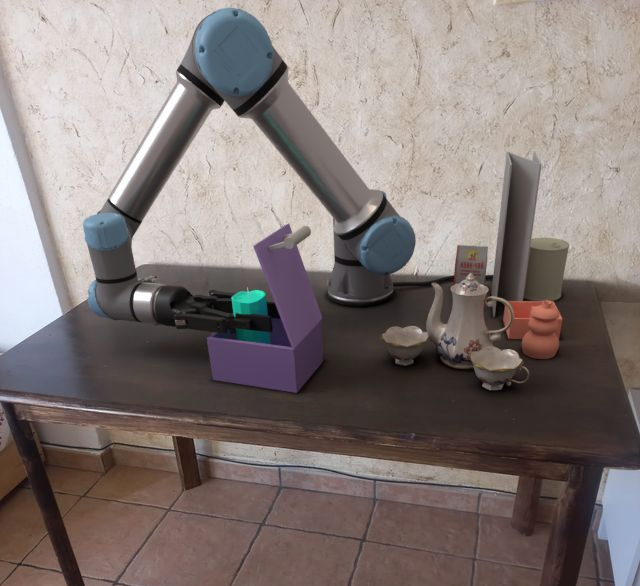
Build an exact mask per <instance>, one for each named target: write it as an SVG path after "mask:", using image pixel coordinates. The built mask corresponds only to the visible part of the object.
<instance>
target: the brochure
mask: <svg viewBox="0 0 640 586" xmlns="http://www.w3.org/2000/svg"><path fill="white" fill-rule="evenodd" d="M542 165H543V164H542V163H541V160H540V158H539V156H538V154H537V152H536V151H535V150H533V152H532V159H529V158H526V157H523V156H521V155H518V154H516V153H513V152H510V151H506V154H505V165H504V171H503V183H502V191H501V200H500V208H499V209H500V210H499V220H498V227H497V228H498V229H497V238H496V248H495V254H494V256H495V257H494V265H493V274H492V275H493V279H492V282H491V283H492V284H491V291H490V293H491V296H494V297H499V298H503V299H505V300H506V301H524V298H523V296H524V289H525V282H526V274H527V267H528V260H529V253H530V245H531V239H533V238H532V237H533V232H534V231H533V230H534V224H535V223H534V222H535V215H536V208H537V201H538V194H539V186H540V180H541V173H542V167H543V166H542ZM491 300H492V301H493V306H492V317H493V318H496V308H497V301H496V300H493V299H491ZM503 305H504V306H505V304H503Z"/></svg>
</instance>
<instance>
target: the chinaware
mask: <svg viewBox="0 0 640 586" xmlns="http://www.w3.org/2000/svg"><path fill="white" fill-rule="evenodd" d="M474 279H475V277H474V276H473V274H472V273H470V274H469V275H468V276H467V277H466V280H463V281H462V282H461V283H460V284H455V285H454V284H453V285H454V286H453V285H451V286H450V291H451V296H452V305H451V311H450V315H449V318H448V320H447V323H443V322H442V320H441V314H442V308H443V304H444V291H443V288H442V286H440V284H439V283H432V285H431V286H432V287H433V289H434V299H433V302H432V303H431V304H432V305H431V307H430V310H429V312H428V314H427V318H426V325H425V327H426V329H425V330H426V331H423V330H422V329H421V328H420V327H419V326H417V325H408V326H405V327H400V326H398V325H397V326H396V325H394V326H389V327H388V328H387V329H386V330H385V332H384V333H381V335H379V336H380V339H381V340H382V341H383V342H384V344H385V347H386V350H387V352H388V354H389V355H390V356H391V357H392V358H394V360H395V361H394V362H395V364H397V365H400V366H405V367H406V366H409V365H412V364H414V359H416V358H417V357H418V356H419V355H421V353H422V351H423V350H424V346H425V344H426V342H427V341H428V340H430V341H431V342H432V343H433V344H434V345H435V351H436V353H437V354H438V355H439V359H440V362H441V363H442V364H444V365H445V366H448V367H449V368H453V369H459V370H472V369H473V371H474V373H475V376H476V378H478V380H479V381H481V382H482V385H481V387H483V388H485V389H486V390H489V391H499V390H502V389H503V387H504V385H505V384H506V385H507V387H510V386H511V385H512V382H514V383H516V384H525V383H526V382H527V381H528V380H529V379H530V371H529V369H528V368H527V367H526V366H523V364H524V359H523V358H521V357H520V354H519V352H517V351H516V350H515V349H511V348H507V349H506V348H505V349H501V348H499V347H497V346H495V345H494V343H498V342H500V341H501V339H502V334H501V333H505V332H506V330H507V329H509V328H510V326H511V325H512V323H513V321H514V311H513V308H512V306H511V305H510V303H509V302H507V301H506V300H505V299H503V298H499V297H494V296H492V295H491V296H487V294H488V292H489V288H488V286H486V285H485V286H484V285H482V284H479V282H478V281H476V280H474ZM492 299H493V300H496V302H499V303H502V304H503V305H504V304H505V305H506V306H507V308H508V309H509V311H510V321H509V323H508V325H507V326H506V327H505V326H504V327H502V328H500V329H496V330H495V329H493V330H489V329H488V327H487V325H486V322H485V315H484V310H485V309H484V307H485V305H486V306H487V307H488V308H493V301H492ZM505 305H504V306H505ZM522 369H523V370H524V371H525V372H526V376H527V377H526V378H525V380H523V381H517V380H516V379H512V378H513V377H514V376H515V374H516V372H517V371H518V370H519V371H522Z"/></svg>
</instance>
